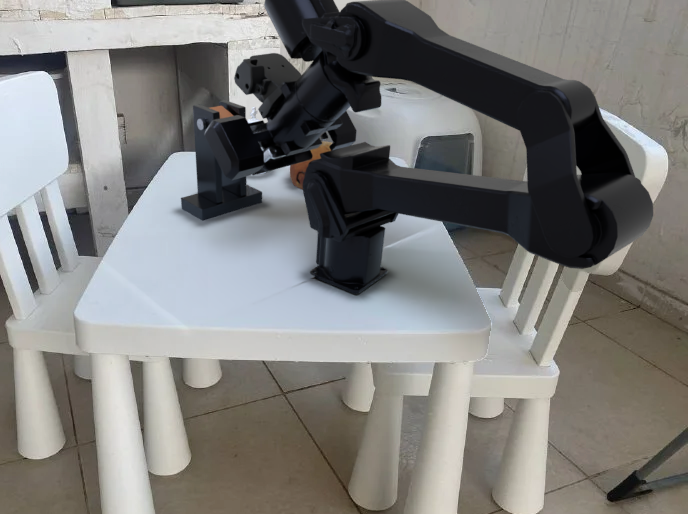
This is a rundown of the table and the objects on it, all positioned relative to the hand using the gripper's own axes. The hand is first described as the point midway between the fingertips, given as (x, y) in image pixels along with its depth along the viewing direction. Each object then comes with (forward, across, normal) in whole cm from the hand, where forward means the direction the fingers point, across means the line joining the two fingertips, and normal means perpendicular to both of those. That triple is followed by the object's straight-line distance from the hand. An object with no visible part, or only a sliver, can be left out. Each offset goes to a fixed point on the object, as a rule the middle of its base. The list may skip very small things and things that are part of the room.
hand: (253, 171), depth 76 cm
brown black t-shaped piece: (+1, 0, -5) cm, 5 cm away
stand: (+10, 0, 0) cm, 10 cm away
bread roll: (+9, -17, +2) cm, 20 cm away
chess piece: (+16, -12, -6) cm, 21 cm away
